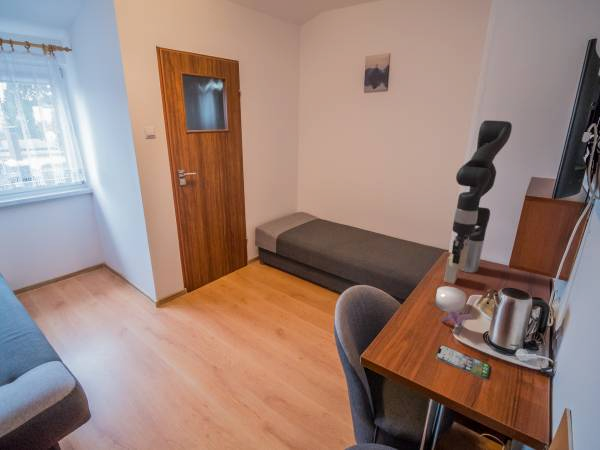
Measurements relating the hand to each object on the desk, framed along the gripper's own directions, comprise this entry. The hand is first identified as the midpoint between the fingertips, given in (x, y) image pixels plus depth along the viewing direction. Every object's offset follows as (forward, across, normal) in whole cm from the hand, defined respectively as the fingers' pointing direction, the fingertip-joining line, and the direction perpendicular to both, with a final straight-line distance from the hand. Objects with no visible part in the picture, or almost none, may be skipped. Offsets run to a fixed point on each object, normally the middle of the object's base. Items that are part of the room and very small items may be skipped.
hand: (457, 260), depth 119 cm
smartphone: (+22, -30, -13) cm, 39 cm away
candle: (+3, 0, 0) cm, 3 cm away
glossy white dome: (+21, 0, 0) cm, 21 cm away
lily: (+21, -15, -6) cm, 27 cm away
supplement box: (+21, +23, +6) cm, 32 cm away
